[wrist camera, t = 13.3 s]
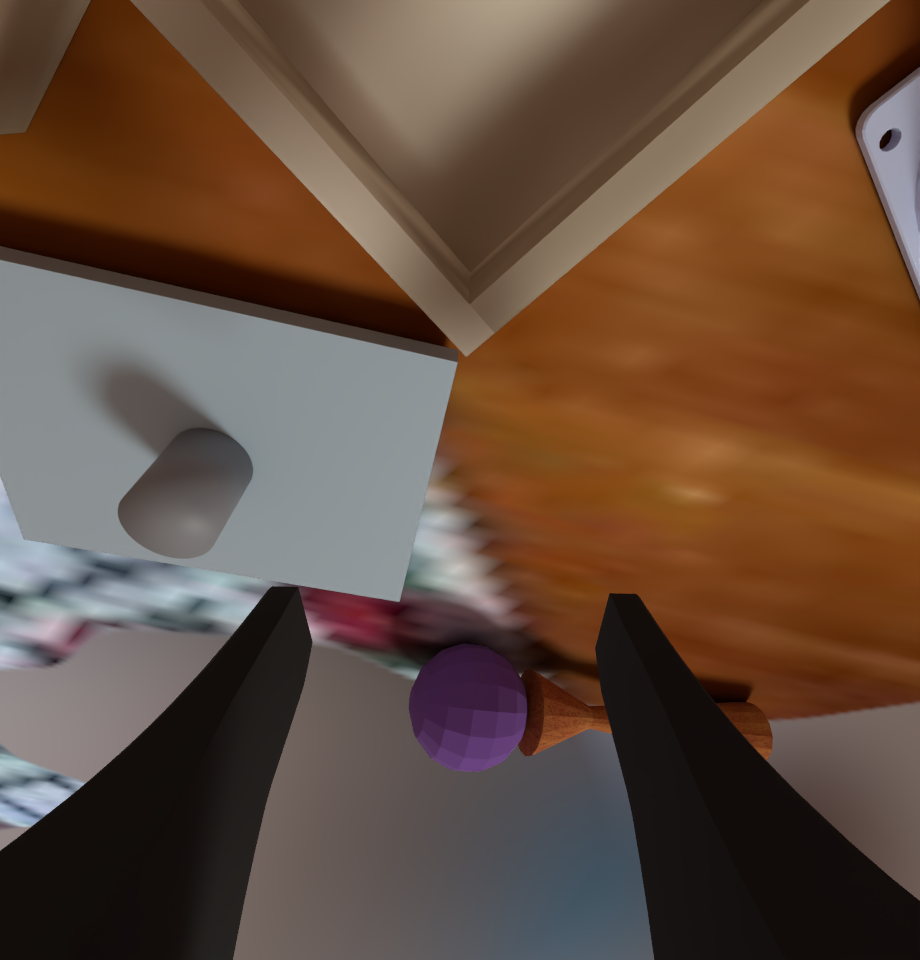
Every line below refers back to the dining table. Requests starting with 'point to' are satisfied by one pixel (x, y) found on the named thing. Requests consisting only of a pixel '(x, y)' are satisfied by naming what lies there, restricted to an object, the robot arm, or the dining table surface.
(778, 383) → the dining table surface
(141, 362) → the lid
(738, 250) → the dining table surface
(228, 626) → the dining table surface
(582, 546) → the dining table surface
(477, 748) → the kendama
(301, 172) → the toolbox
